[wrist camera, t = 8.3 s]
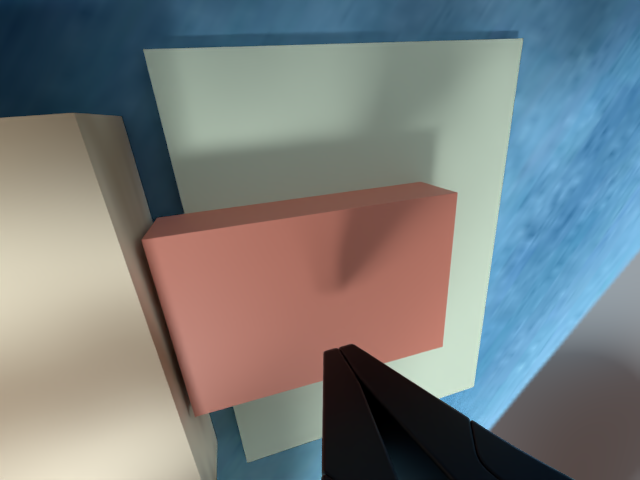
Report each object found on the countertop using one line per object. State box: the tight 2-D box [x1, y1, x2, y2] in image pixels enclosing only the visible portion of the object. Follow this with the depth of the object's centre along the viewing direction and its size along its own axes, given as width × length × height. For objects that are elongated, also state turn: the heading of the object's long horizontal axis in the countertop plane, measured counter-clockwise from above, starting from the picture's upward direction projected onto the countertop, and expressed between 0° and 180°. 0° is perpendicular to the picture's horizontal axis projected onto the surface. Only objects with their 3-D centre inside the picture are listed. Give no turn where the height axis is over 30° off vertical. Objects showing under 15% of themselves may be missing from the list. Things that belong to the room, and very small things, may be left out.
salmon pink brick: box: [141, 182, 458, 417], centre depth 11 cm, size 9×6×2 cm, turn 94°
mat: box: [143, 38, 523, 463], centre depth 12 cm, size 16×12×1 cm
